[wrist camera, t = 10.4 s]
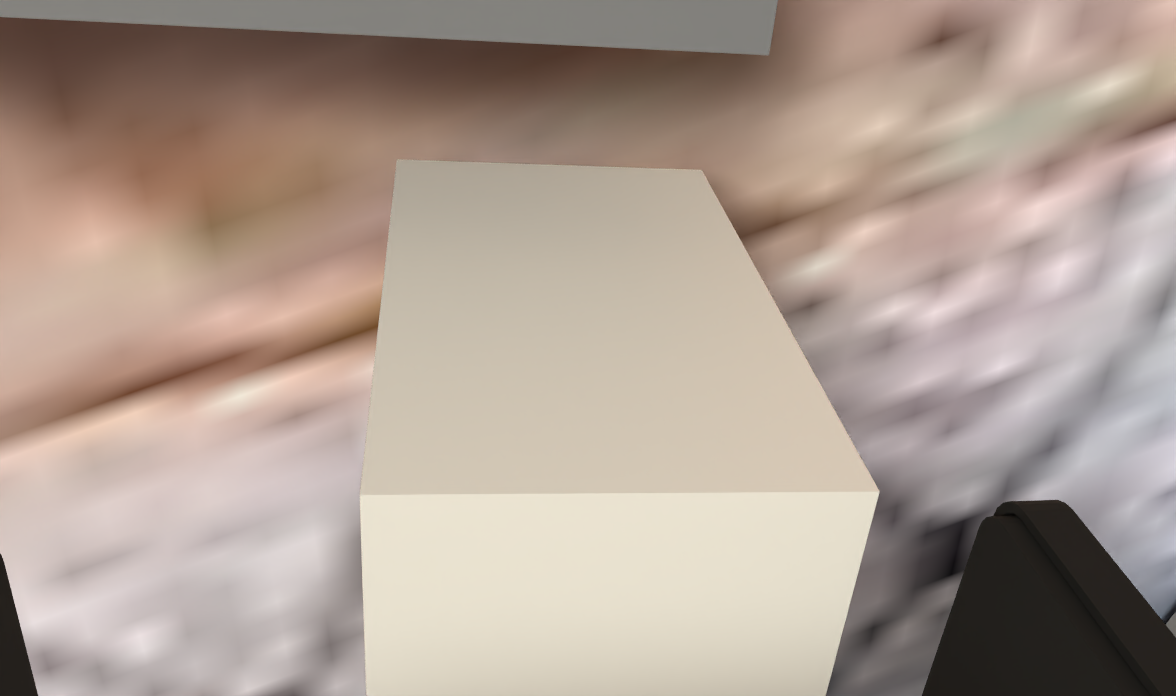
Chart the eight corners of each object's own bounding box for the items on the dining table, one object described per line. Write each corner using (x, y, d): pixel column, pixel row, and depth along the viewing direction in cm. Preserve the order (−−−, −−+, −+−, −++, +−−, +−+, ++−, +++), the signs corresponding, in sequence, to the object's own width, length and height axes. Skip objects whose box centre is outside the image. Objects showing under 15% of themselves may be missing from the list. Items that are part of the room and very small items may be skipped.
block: (683, 137, 18) (879, 492, 10) (653, 374, 20) (792, 822, 12) (400, 125, 17) (360, 494, 9) (402, 372, 20) (370, 843, 11)
